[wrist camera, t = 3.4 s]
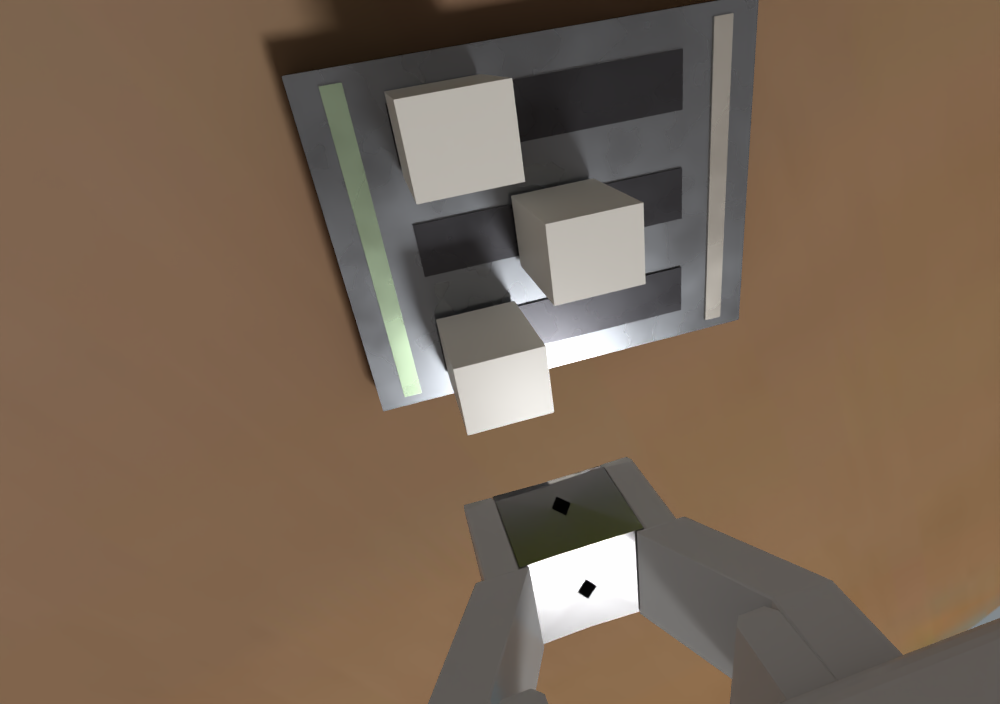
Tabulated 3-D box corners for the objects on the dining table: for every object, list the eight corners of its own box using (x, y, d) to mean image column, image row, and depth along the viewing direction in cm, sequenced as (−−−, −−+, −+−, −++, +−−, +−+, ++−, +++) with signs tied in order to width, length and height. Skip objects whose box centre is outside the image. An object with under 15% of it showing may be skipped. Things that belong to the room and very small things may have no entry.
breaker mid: (593, 178, 23) (643, 202, 19) (598, 248, 25) (645, 283, 21) (511, 195, 23) (545, 224, 19) (520, 266, 24) (554, 305, 20)
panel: (735, -4, 23) (760, -7, 22) (721, 308, 30) (739, 320, 28) (285, 74, 21) (280, 76, 19) (381, 394, 27) (383, 412, 26)
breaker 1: (480, 73, 20) (512, 78, 17) (493, 159, 22) (524, 181, 18) (383, 91, 20) (393, 99, 16) (403, 177, 21) (416, 204, 18)
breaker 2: (514, 301, 25) (545, 346, 21) (522, 359, 26) (553, 412, 22) (435, 319, 24) (453, 369, 20) (449, 378, 26) (467, 435, 22)
